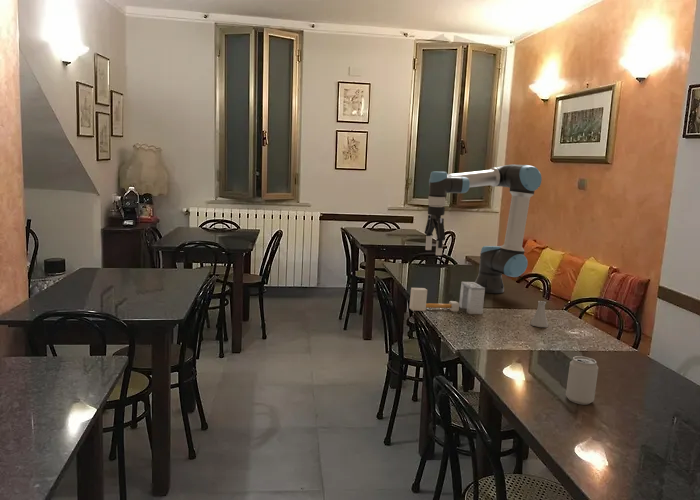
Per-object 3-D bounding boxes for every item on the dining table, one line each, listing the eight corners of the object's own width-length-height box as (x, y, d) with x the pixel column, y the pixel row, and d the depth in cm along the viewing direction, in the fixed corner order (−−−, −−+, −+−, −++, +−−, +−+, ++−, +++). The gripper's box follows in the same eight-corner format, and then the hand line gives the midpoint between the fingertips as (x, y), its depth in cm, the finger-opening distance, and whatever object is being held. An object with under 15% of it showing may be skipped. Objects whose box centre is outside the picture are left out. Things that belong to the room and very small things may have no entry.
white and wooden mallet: (455, 309, 264) (457, 289, 263) (458, 311, 260) (460, 291, 259) (409, 308, 260) (411, 287, 259) (412, 310, 256) (413, 289, 255)
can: (560, 394, 172) (565, 354, 170) (585, 395, 172) (591, 355, 170) (572, 405, 164) (578, 363, 162) (598, 406, 165) (604, 364, 163)
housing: (471, 307, 270) (474, 282, 268) (482, 314, 258) (485, 288, 257) (458, 306, 269) (461, 281, 267) (469, 313, 257) (471, 287, 255)
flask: (549, 329, 242) (552, 304, 241) (530, 326, 244) (533, 302, 242) (547, 324, 249) (550, 301, 248) (529, 322, 251) (532, 298, 249)
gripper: (454, 209, 260) (451, 257, 263) (434, 203, 284) (431, 247, 287) (438, 208, 258) (435, 257, 262) (419, 203, 282) (416, 247, 286)
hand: (433, 252), depth 275 cm, fingers open, 13 cm apart
